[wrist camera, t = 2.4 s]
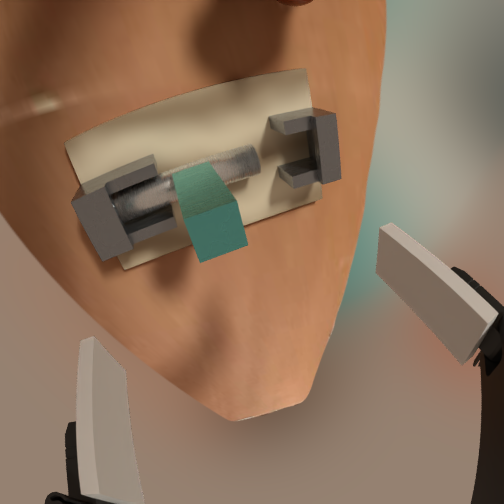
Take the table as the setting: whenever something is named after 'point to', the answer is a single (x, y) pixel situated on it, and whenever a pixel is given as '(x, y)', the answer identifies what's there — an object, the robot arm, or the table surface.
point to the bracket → (107, 216)
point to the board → (206, 146)
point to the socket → (310, 146)
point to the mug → (294, 2)
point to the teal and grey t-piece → (198, 199)
